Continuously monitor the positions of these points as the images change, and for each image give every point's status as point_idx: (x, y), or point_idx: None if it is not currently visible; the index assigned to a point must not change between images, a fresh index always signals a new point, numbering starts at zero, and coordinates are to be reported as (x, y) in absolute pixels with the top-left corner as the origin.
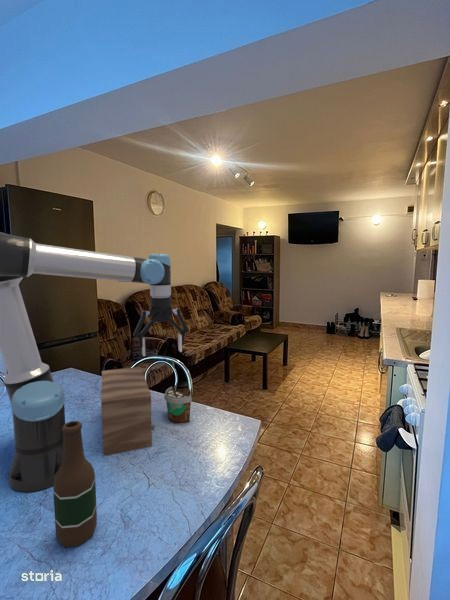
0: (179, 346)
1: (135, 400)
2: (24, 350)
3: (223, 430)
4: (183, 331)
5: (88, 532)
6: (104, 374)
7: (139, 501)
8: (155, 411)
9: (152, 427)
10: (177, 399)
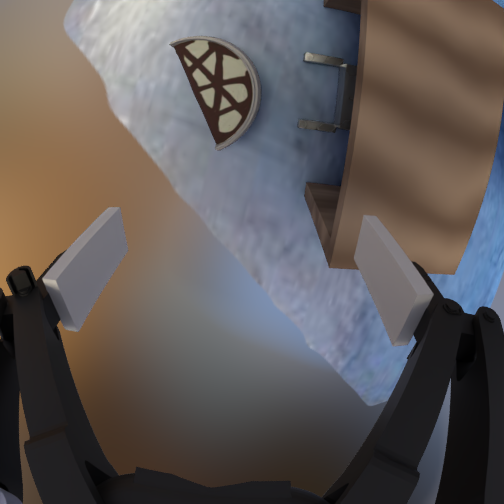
0: (107, 237)
1: None
2: None
3: (132, 2)
4: (15, 300)
5: None
6: (464, 235)
7: None
8: (274, 155)
9: (309, 53)
10: (223, 41)
